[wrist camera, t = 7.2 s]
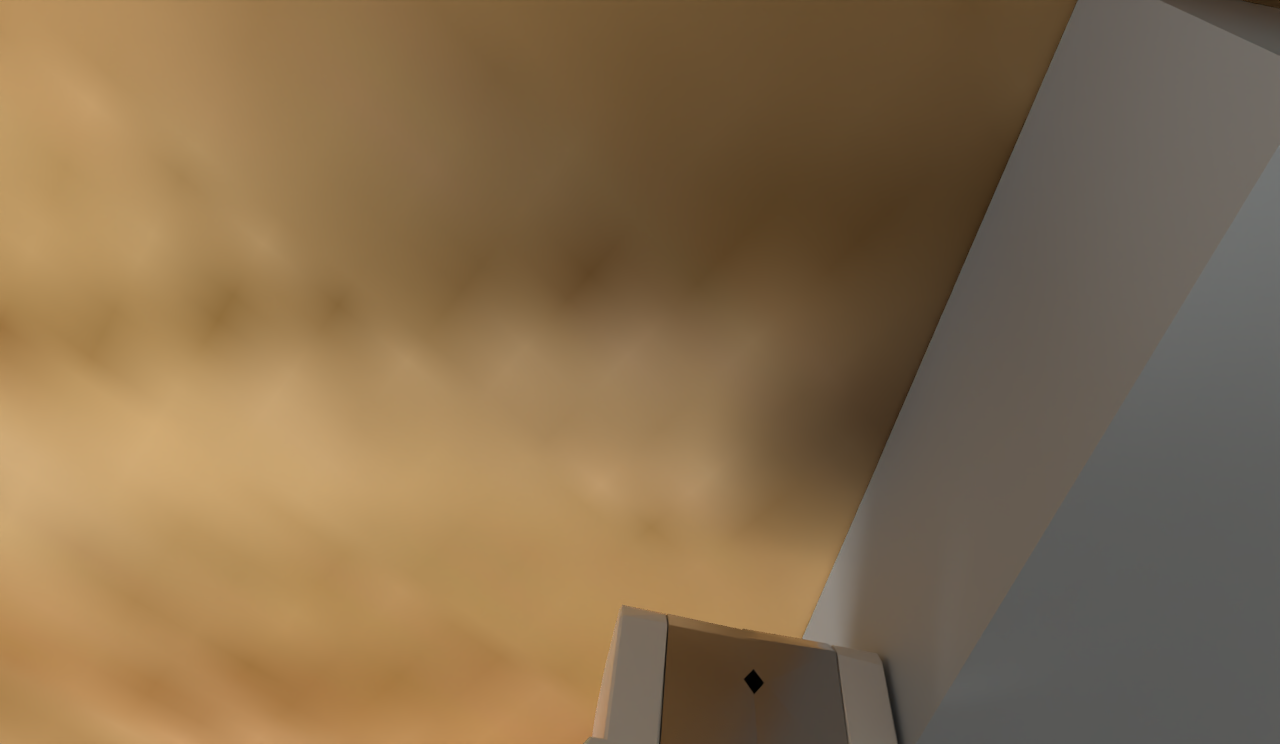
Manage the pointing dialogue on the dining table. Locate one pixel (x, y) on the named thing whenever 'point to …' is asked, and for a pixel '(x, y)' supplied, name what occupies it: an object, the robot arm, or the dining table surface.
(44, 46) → the dining table surface
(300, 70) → the dining table surface
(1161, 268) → the T-block
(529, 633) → the dining table surface
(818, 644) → the robot arm
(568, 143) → the dining table surface
